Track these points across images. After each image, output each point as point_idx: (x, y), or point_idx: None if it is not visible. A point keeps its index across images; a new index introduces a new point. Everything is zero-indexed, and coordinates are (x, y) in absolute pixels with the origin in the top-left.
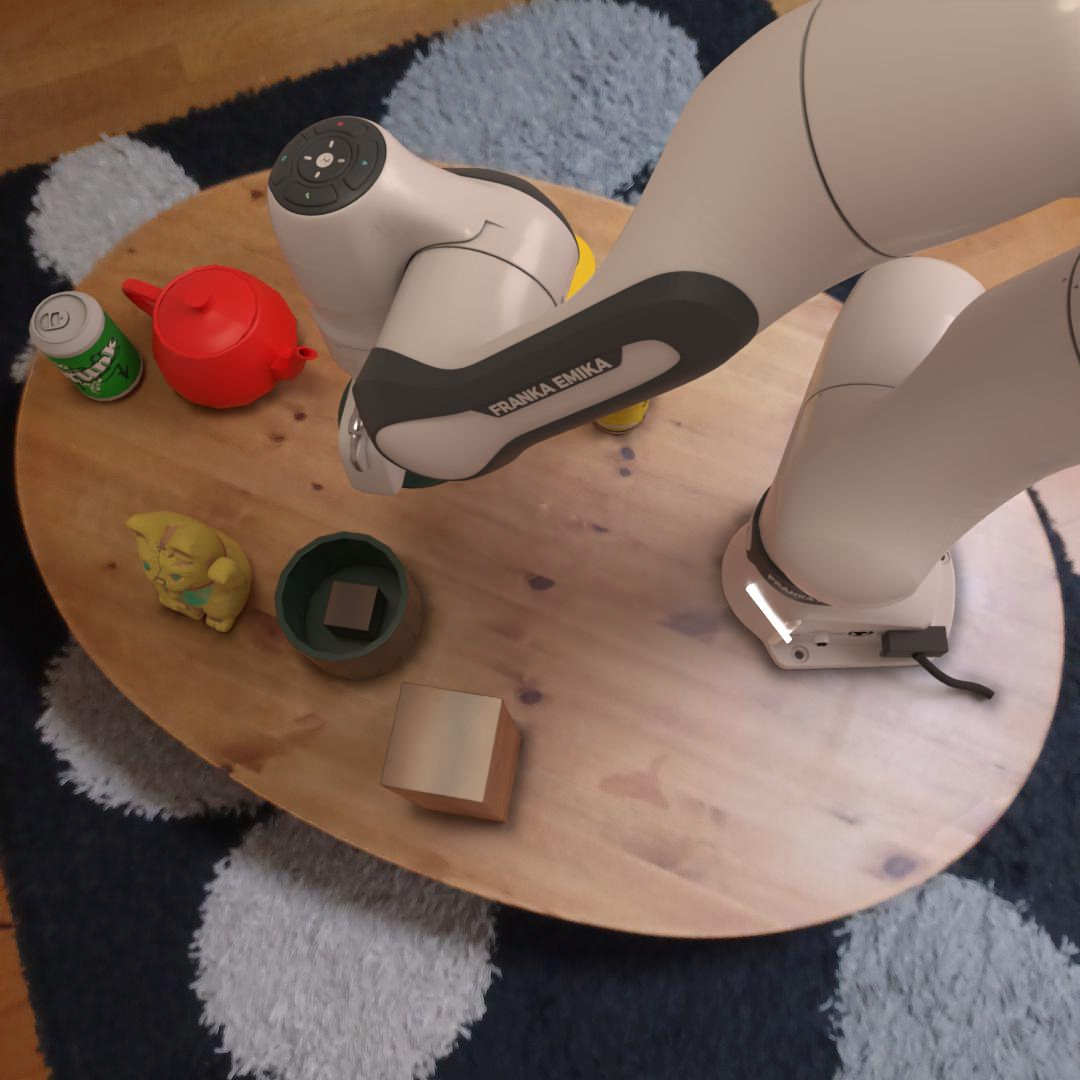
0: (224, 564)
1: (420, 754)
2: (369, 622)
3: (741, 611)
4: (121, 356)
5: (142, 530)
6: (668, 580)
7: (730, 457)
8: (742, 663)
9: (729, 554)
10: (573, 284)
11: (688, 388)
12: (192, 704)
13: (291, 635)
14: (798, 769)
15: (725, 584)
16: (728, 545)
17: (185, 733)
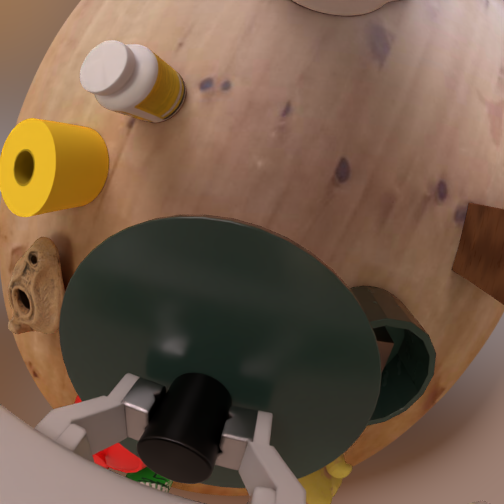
0: (338, 472)
1: None
2: (387, 342)
3: (371, 4)
4: (148, 475)
5: None
6: (340, 54)
7: (217, 5)
8: (407, 18)
9: (320, 2)
10: (37, 137)
11: (148, 41)
12: (391, 429)
13: (399, 410)
14: (469, 13)
15: (345, 11)
16: (306, 6)
17: (407, 429)
